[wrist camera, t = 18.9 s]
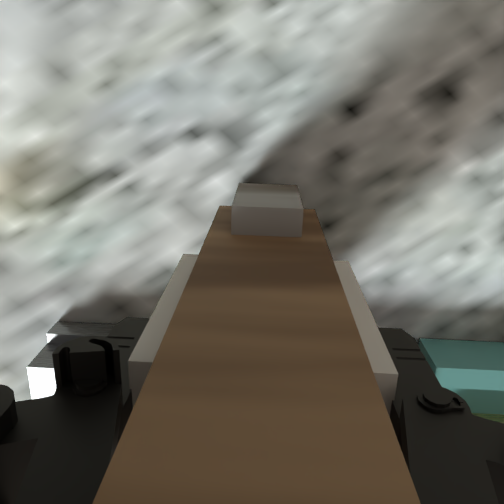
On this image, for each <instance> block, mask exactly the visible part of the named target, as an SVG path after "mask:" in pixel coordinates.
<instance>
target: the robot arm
mask: <svg viewBox="0 0 504 504" xmlns="http://www.w3.org/2000/svg"><path fill="white" fill-rule="evenodd" d="M197 258H198V255H193V254H183V256H182V258H181V260H180V261H179V263H178V265H177V267H176V269H175V271H174V273H173V275H172V277H171V279H170V281H169V283H168V285H167V287H166V288H165V290H164V292H163V294H162V296H161V298H160V300H159V302H158V304H157V306H156V308H155V310H154V312H153V313H152V315H151V317H150V319H149V318H125V319H124V320H122V321H121V322H119V323H118V324H116V325H115V326H114V327H113V328H112V330H111V331H110V333H109V334H108V336H107V337H103V336H86V337H79V338H76V339H73V340H70V341H67V342H65V343H63V344H62V345H60V346H58V347H57V348H56V349H55V351H54V352H53V353H52V358H53V366H54V374H55V382H56V390H55V393H54V395H51V396H48V397H43V398H38V399H31V400H25V401H18V402H15V398H14V392H13V390H12V389H10V388H9V387H8V386H5V385H0V504H92V503H93V501H94V499H95V496H96V494H97V492H98V489H99V487H100V485H101V482H102V480H103V478H104V475H105V473H106V471H107V468H108V466H109V464H110V461H111V459H112V457H113V454H114V452H115V450H116V447H117V445H118V442H119V440H120V438H121V435H122V433H123V431H124V428H125V426H126V424H127V421H128V419H129V417H130V414H131V412H132V410H133V407H134V405H135V403H136V400H137V398H138V396H139V393H140V391H141V389H142V386H143V384H144V382H145V379H146V377H147V375H148V372H149V370H150V368H151V365H152V363H153V361H154V358H155V356H156V354H157V351H158V349H159V347H160V344H161V342H162V340H163V337H164V335H165V333H166V330H167V328H168V325H169V323H170V321H171V318H172V316H173V314H174V311H175V309H176V307H177V304H178V302H179V300H180V297H181V295H182V293H183V290H184V288H185V286H186V283H187V281H188V279H189V276H190V274H191V272H192V269H193V267H194V265H195V262H196V260H197ZM333 262H334V264H335V267H336V270H337V273H338V275H339V278H340V281H341V284H342V287H343V289H344V292H345V295H346V298H347V300H348V303H349V306H350V309H351V312H352V314H353V317H354V320H355V323H356V326H357V328H358V331H359V334H360V337H361V339H362V342H363V345H364V348H365V351H366V353H367V356H368V359H369V362H370V364H371V367H372V370H373V373H374V376H375V378H376V381H377V384H378V387H379V389H380V392H381V395H382V398H383V401H384V403H385V406H386V409H387V412H388V414H389V417H390V420H391V423H392V426H393V428H394V431H395V434H396V437H397V439H398V442H399V445H400V448H401V451H402V453H403V456H404V459H405V462H406V464H407V467H408V470H409V473H410V476H411V478H412V481H413V484H414V487H415V489H416V492H417V495H418V498H419V501H420V503H421V504H504V423H500V422H496V421H492V420H488V419H485V418H482V417H479V416H475V415H473V414H472V413H471V410H470V407H469V406H468V404H467V402H466V401H465V400H464V399H463V398H462V397H460V396H459V395H458V394H457V393H455V392H453V391H451V390H449V389H446V388H444V387H442V386H441V385H440V383H439V381H438V379H437V377H436V376H435V374H434V372H433V370H432V369H431V367H430V365H429V363H428V362H427V361H426V358H425V356H424V355H423V353H422V352H421V351H420V350H421V349H420V348H419V346H418V344H417V342H416V341H415V339H414V338H413V337H412V336H410V335H409V334H408V333H406V332H405V331H404V330H402V329H394V328H378V327H377V325H376V322H375V320H374V318H373V316H372V313H371V311H370V309H369V307H368V304H367V302H366V300H365V298H364V295H363V293H362V291H361V289H360V286H359V284H358V282H357V280H356V277H355V275H354V273H353V271H352V268H351V266H350V264H349V262H348V261H334V260H333Z"/></svg>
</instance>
